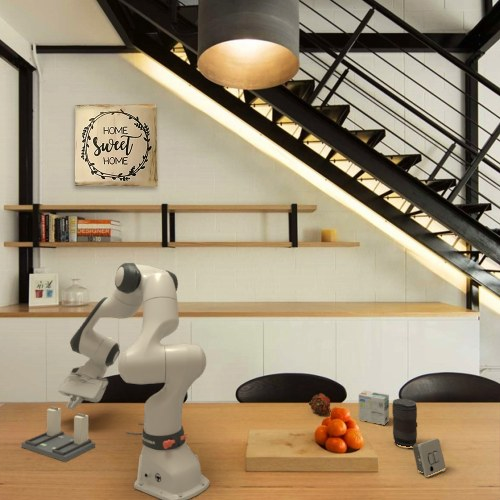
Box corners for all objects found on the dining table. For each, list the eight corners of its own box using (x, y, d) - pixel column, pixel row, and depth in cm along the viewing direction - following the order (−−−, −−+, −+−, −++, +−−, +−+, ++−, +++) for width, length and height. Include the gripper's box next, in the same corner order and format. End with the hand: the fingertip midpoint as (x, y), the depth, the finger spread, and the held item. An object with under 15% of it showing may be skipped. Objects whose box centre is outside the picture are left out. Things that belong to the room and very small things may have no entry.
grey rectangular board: (95, 447, 145) (95, 440, 145) (65, 461, 135) (65, 454, 135) (52, 434, 155) (52, 428, 156) (21, 447, 145) (21, 440, 145)
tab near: (88, 441, 145) (88, 413, 146) (80, 445, 143) (81, 416, 143) (80, 439, 147) (81, 411, 147) (73, 443, 144) (74, 414, 145)
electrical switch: (427, 479, 126) (424, 446, 126) (412, 473, 130) (410, 441, 131) (446, 471, 130) (444, 439, 131) (432, 465, 135) (429, 435, 136)
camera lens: (396, 437, 154) (396, 396, 154) (419, 443, 149) (419, 401, 150) (389, 445, 148) (389, 402, 148) (413, 452, 143) (413, 407, 143)
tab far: (60, 433, 152) (60, 406, 152) (53, 436, 149) (53, 409, 149) (54, 431, 154) (54, 405, 154) (46, 434, 151) (47, 407, 151)
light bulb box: (389, 421, 170) (389, 394, 170) (385, 426, 165) (385, 398, 165) (363, 415, 176) (363, 389, 176) (358, 420, 170) (358, 393, 170)
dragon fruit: (321, 422, 172) (316, 415, 184) (337, 409, 173) (331, 403, 185) (308, 404, 174) (304, 399, 185) (325, 392, 174) (320, 387, 186)
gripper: (114, 383, 164) (94, 417, 155) (77, 376, 174) (56, 407, 165) (105, 374, 160) (84, 409, 151) (68, 367, 170) (46, 399, 161)
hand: (69, 408), depth 158 cm, fingers closed
